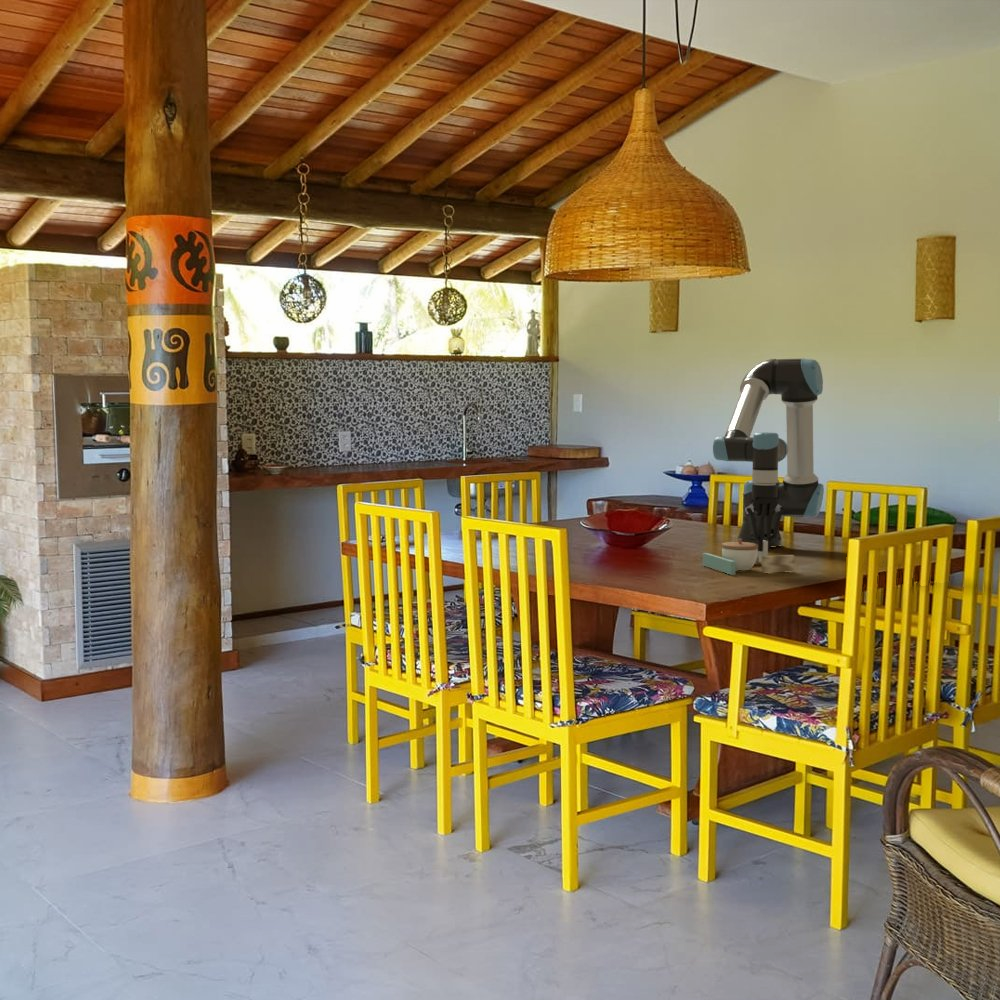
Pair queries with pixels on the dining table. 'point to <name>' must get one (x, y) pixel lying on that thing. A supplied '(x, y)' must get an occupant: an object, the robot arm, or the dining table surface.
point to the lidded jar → (740, 553)
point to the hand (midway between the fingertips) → (763, 561)
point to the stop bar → (718, 563)
